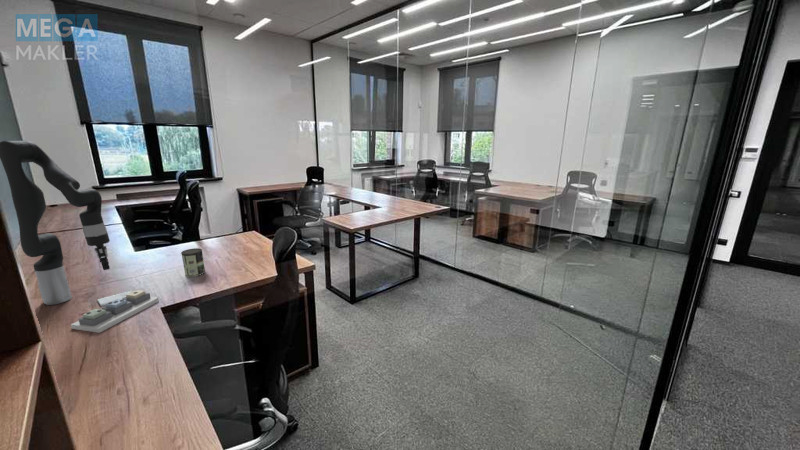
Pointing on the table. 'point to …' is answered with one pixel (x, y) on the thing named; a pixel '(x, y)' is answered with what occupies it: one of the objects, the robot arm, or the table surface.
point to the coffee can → (193, 262)
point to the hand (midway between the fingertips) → (106, 267)
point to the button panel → (115, 314)
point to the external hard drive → (111, 298)
